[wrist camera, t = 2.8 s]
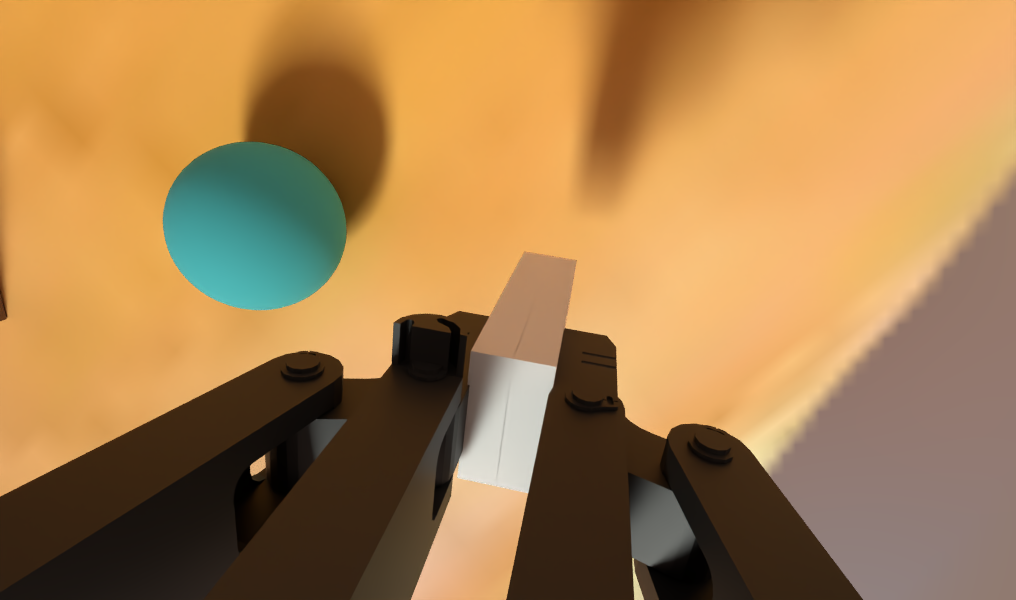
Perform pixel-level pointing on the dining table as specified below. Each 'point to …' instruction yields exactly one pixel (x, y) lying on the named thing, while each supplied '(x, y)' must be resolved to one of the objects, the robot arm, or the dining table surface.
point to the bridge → (2, 310)
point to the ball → (254, 225)
